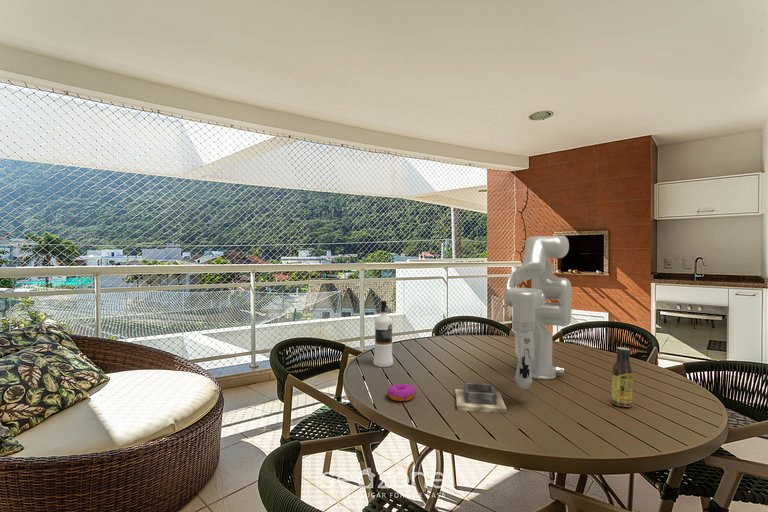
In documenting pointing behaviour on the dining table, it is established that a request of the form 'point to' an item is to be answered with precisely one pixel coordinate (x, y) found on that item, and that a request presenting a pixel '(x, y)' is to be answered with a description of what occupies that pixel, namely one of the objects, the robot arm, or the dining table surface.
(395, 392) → the donut
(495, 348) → the dining table surface
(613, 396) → the sauce bottle
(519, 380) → the salt shaker
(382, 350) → the vodka
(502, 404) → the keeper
